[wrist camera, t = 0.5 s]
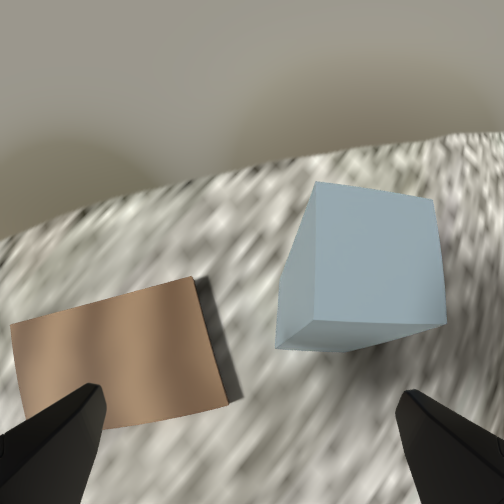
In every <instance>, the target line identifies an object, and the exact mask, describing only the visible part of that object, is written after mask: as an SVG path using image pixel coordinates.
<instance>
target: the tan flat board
mask: <svg viewBox="0 0 504 504" xmlns="http://www.w3.org/2000/svg"><path fill="white" fill-rule="evenodd" d="M10 328H11V338H12V346H13V354H14V361H15V367H16V374H17V379H18V385H19V390H20V395H21V399H22V404H23V408H24V413H25V417H26V420H27V419H29V418H30V417H32V416H34V415H35V414H37V413H39V412H40V411H42V410H44V409H45V408H47V407H49V406H50V405H52V404H53V403H55V402H57V401H58V400H60V399H62V398H63V397H65V396H66V395H68V394H70V393H71V392H73V391H74V390H76V389H78V388H79V387H81V386H83V385H84V384H86V383H95V384H99V385H100V386H101V387H102V390H103V393H104V397H105V400H106V404H107V412H106V416H105V420H104V425H103V429H102V430H105V429H112V428H120V427H127V426H133V425H139V424H145V423H151V422H156V421H162V420H167V419H172V418H177V417H182V416H186V415H191V414H195V413H200V412H204V411H208V410H212V409H216V408H220V407H224V406H228V405H229V401H228V398H227V394H226V391H225V388H224V385H223V382H222V378H221V375H220V372H219V368H218V365H217V362H216V358H215V355H214V351H213V348H212V345H211V341H210V337H209V334H208V330H207V327H206V323H205V320H204V316H203V312H202V309H201V305H200V301H199V297H198V293H197V290H196V286H195V282H194V279H193V277H192V276H190V277H186V278H182V279H179V280H175V281H171V282H168V283H164V284H160V285H157V286H153V287H149V288H146V289H142V290H138V291H134V292H131V293H127V294H123V295H120V296H116V297H112V298H109V299H105V300H101V301H97V302H94V303H90V304H86V305H82V306H79V307H75V308H71V309H67V310H64V311H60V312H56V313H52V314H49V315H45V316H41V317H37V318H34V319H30V320H26V321H22V322H18V323H15V324H11V325H10Z"/></svg>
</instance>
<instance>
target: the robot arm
mask: <svg viewBox="0 0 504 504" xmlns="http://www.w3.org/2000/svg"><path fill="white" fill-rule="evenodd" d="M106 412H107V404H106V400H105V397H104V393H103V390H102V387H101V386H100V385H99V384H95V383H86V384H84V385H83V386H81V387H79V388H78V389H76V390H74V391H73V392H71V393H70V394H68V395H66V396H65V397H63V398H62V399H60V400H58V401H57V402H55V403H53V404H52V405H50V406H49V407H47V408H45V409H44V410H42V411H40V412H39V413H37V414H35V415H34V416H32V417H30V418H29V419H27V420H26V421H24V422H22V423H21V424H19V425H17V426H16V427H14V428H12V429H11V430H9V431H7V432H6V433H5V435H4V434H2V435H0V504H80V503H81V499H82V496H83V493H84V490H85V487H86V484H87V481H88V478H89V475H90V472H91V469H92V466H93V463H94V460H95V457H96V454H97V451H98V447H99V442H100V438H101V433H102V429H103V425H104V420H105V416H106ZM395 416H396V420H397V424H398V428H399V432H400V437H401V441H402V445H403V449H404V453H405V456H406V459H407V462H408V465H409V468H410V471H411V474H412V477H413V480H414V483H415V486H416V489H417V492H418V495H419V498H420V501H421V504H504V440H503V439H501V438H499V437H497V436H496V435H494V434H492V433H490V432H489V431H487V430H485V429H483V428H482V427H480V426H478V425H476V424H475V423H473V422H471V421H469V420H468V419H466V418H464V417H462V416H461V415H459V414H457V413H456V412H454V411H452V410H450V409H449V408H447V407H445V406H444V405H442V404H440V403H439V402H437V401H435V400H434V399H432V398H430V397H429V396H427V395H425V394H424V393H422V392H420V391H419V390H416V389H412V390H406V391H404V392H403V394H402V396H401V398H400V401H399V403H398V406H397V408H396V412H395Z"/></svg>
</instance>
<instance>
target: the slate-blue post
mask: <svg viewBox="0 0 504 504" xmlns="http://www.w3.org/2000/svg"><path fill="white" fill-rule="evenodd" d="M445 324H447V314H446V296H445V284H444V273H443V263H442V255H441V247H440V240H439V233H438V227H437V221H436V215H435V209H434V204H433V200H432V199H426V198H421V197H416V196H410V195H405V194H399V193H393V192H387V191H381V190H374V189H368V188H361V187H354V186H347V185H340V184H333V183H325V182H317V181H316V182H315V185H314V188H313V190H312V193H311V196H310V199H309V202H308V204H307V207H306V210H305V213H304V215H303V218H302V221H301V224H300V226H299V229H298V232H297V235H296V237H295V240H294V243H293V245H292V248H291V251H290V253H289V256H288V259H287V261H286V264H285V267H284V269H283V272H282V275H281V277H280V284H279V298H278V313H277V326H276V339H275V349H285V350H301V351H322V352H348V351H353V350H357V349H361V348H365V347H369V346H373V345H377V344H381V343H384V342H388V341H392V340H395V339H399V338H403V337H406V336H410V335H413V334H416V333H420V332H423V331H426V330H430V329H433V328H436V327H439V326H442V325H445Z"/></svg>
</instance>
